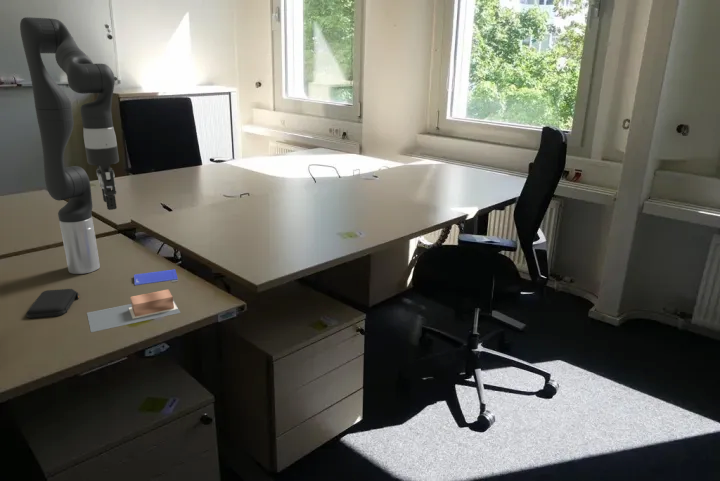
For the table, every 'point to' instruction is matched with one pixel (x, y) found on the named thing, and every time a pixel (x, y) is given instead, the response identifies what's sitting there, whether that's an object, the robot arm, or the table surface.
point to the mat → (122, 317)
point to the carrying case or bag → (52, 303)
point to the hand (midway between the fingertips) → (110, 205)
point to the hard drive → (155, 277)
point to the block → (152, 302)
